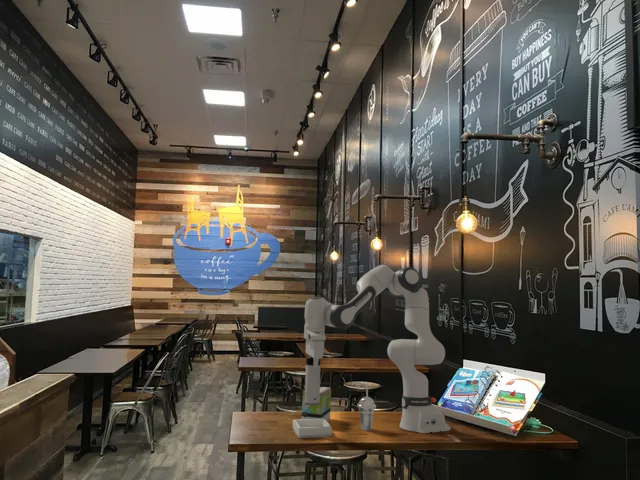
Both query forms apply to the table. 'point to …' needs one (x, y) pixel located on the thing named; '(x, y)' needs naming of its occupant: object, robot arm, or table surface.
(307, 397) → the travel mug
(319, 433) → the tray
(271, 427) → the table surface
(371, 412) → the cup with straw
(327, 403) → the tea box
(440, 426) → the robot arm
